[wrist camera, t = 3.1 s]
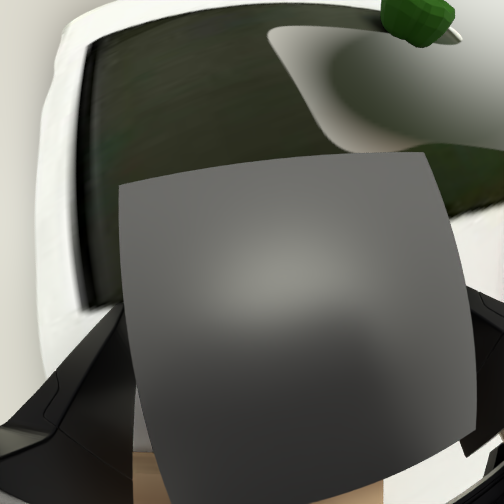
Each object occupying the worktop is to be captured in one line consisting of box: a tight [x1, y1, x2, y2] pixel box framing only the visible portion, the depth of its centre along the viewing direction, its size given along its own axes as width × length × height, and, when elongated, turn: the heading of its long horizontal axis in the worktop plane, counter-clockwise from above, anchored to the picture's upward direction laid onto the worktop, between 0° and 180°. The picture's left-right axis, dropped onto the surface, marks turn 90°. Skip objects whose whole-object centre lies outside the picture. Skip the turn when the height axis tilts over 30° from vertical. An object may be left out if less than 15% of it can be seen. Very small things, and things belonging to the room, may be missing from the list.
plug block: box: [119, 152, 477, 504], centre depth 9 cm, size 4×4×13 cm
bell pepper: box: [380, 0, 455, 48], centre depth 19 cm, size 8×8×10 cm
